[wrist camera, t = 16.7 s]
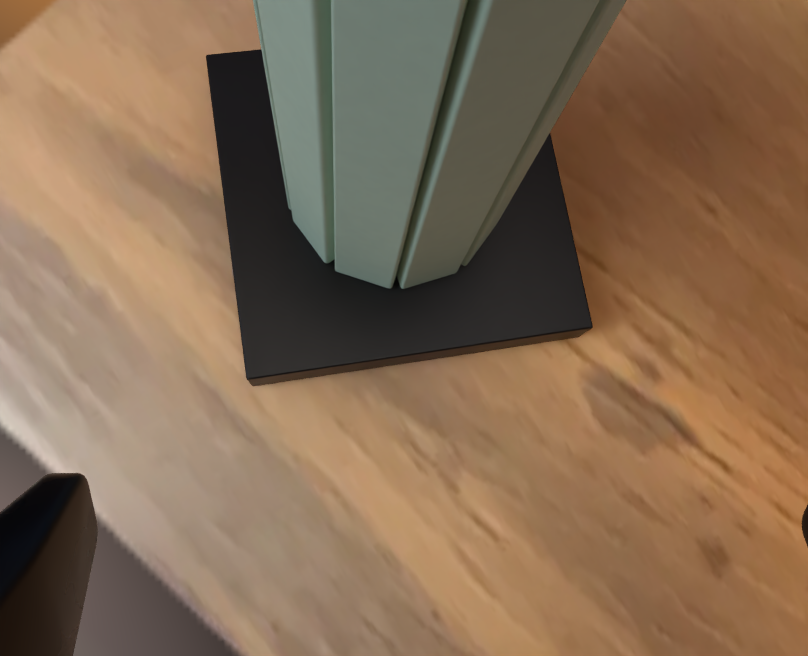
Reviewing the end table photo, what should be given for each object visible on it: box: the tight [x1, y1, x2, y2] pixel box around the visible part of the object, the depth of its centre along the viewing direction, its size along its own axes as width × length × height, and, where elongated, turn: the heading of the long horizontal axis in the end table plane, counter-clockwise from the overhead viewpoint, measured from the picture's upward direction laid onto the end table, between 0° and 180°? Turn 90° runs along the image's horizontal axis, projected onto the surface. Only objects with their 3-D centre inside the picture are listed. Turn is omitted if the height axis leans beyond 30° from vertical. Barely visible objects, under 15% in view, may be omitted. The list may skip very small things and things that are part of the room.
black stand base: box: [206, 50, 593, 386], centre depth 19 cm, size 9×9×6 cm
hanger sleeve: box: [253, 0, 626, 289], centre depth 14 cm, size 6×6×13 cm
